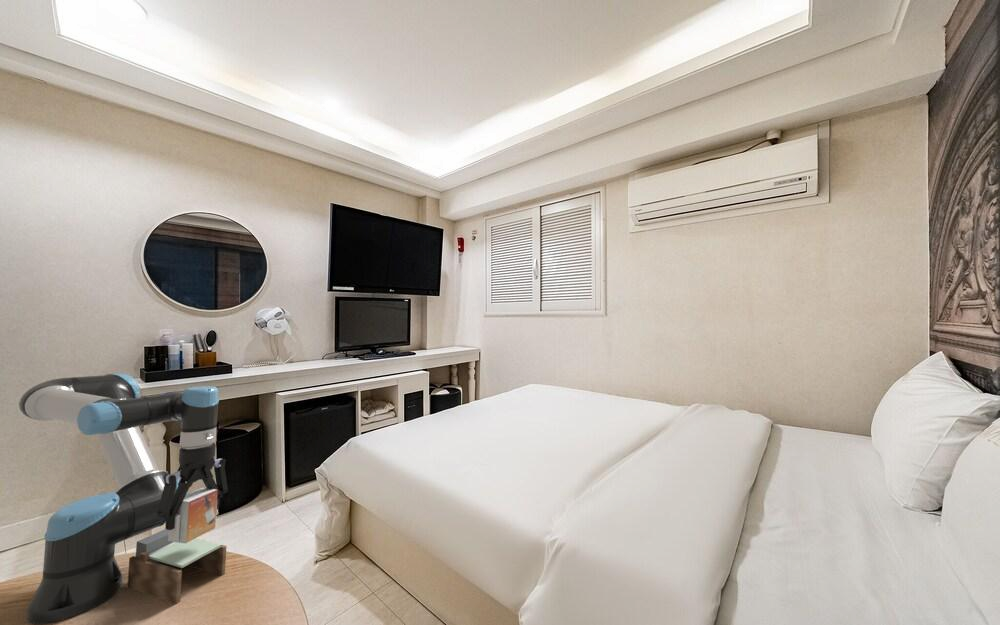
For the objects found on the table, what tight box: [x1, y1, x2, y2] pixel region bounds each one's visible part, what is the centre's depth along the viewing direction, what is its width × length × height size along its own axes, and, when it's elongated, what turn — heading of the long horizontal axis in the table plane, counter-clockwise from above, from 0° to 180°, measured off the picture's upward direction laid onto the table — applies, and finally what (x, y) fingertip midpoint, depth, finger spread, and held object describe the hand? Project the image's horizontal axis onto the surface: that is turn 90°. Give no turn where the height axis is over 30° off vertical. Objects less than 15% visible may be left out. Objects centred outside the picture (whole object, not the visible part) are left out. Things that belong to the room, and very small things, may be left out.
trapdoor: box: [135, 528, 222, 569], centre depth 96 cm, size 18×9×6 cm, turn 73°
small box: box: [177, 487, 218, 544], centre depth 96 cm, size 8×6×10 cm
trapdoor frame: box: [126, 544, 227, 604], centre depth 96 cm, size 19×12×9 cm, turn 73°
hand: (193, 531), depth 95 cm, fingers closed on small box, 8 cm apart
